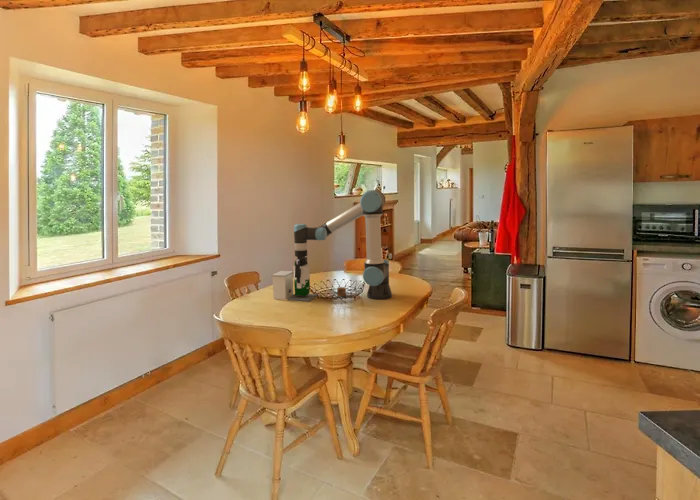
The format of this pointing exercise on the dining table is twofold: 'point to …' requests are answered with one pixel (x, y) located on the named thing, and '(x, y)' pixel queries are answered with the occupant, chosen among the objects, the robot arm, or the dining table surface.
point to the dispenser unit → (282, 285)
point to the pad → (302, 297)
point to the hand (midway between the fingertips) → (302, 286)
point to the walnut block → (341, 291)
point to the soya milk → (303, 281)
